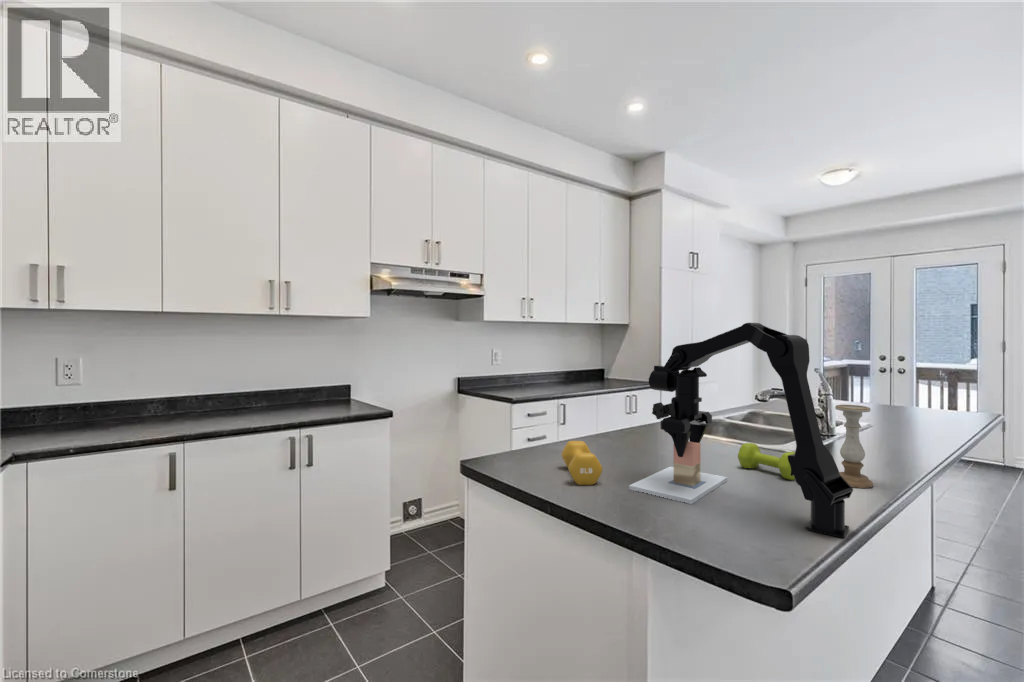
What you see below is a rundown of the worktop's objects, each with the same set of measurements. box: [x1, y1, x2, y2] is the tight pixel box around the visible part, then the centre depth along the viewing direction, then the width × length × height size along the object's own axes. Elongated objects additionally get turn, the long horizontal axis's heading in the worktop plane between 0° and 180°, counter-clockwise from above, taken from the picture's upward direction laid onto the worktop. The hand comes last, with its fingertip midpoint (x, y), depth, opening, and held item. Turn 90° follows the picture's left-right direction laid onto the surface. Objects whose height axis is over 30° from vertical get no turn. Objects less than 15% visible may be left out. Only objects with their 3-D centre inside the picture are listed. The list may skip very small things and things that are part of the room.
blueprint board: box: [628, 466, 728, 505], centre depth 125 cm, size 24×16×1 cm, turn 137°
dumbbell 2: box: [737, 442, 796, 481], centre depth 136 cm, size 16×8×7 cm, turn 28°
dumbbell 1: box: [561, 440, 603, 486], centre depth 134 cm, size 19×9×8 cm, turn 1°
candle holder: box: [834, 404, 874, 489], centre depth 126 cm, size 9×9×20 cm
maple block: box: [673, 462, 702, 486], centre depth 123 cm, size 5×5×5 cm
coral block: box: [673, 441, 702, 466], centre depth 123 cm, size 5×5×5 cm
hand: (687, 453), depth 123 cm, fingers open, 8 cm apart
